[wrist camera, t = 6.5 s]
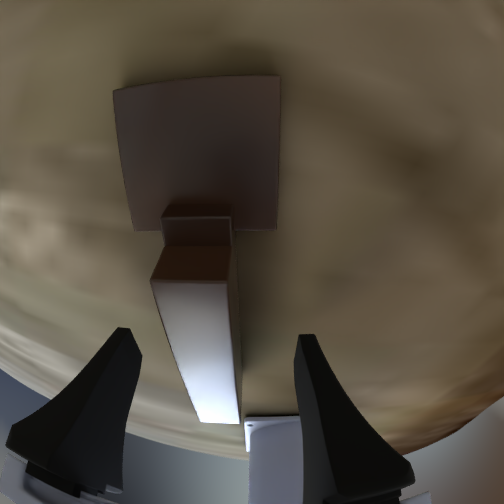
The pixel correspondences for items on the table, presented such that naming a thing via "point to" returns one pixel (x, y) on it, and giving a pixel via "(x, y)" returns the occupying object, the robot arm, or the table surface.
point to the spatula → (201, 212)
